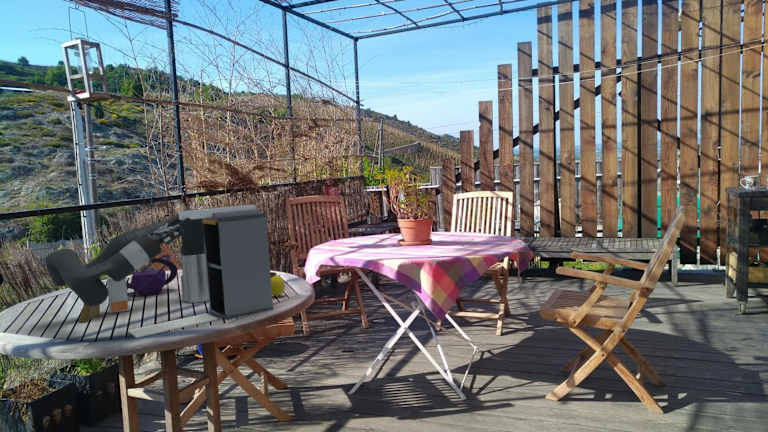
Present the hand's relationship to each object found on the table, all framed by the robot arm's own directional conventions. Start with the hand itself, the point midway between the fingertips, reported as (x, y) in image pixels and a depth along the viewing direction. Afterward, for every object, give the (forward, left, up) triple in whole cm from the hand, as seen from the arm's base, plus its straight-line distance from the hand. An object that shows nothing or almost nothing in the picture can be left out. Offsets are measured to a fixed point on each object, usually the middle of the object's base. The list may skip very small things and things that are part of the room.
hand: (185, 219), depth 167 cm
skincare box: (-37, +5, -32) cm, 50 cm away
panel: (+5, +9, 0) cm, 11 cm away
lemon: (+10, +32, -32) cm, 47 cm away
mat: (-3, -6, -32) cm, 33 cm away
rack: (+8, +13, -32) cm, 36 cm away
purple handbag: (-47, +29, -32) cm, 64 cm away
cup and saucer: (-1, +43, -32) cm, 54 cm away
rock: (-40, -5, -32) cm, 52 cm away
